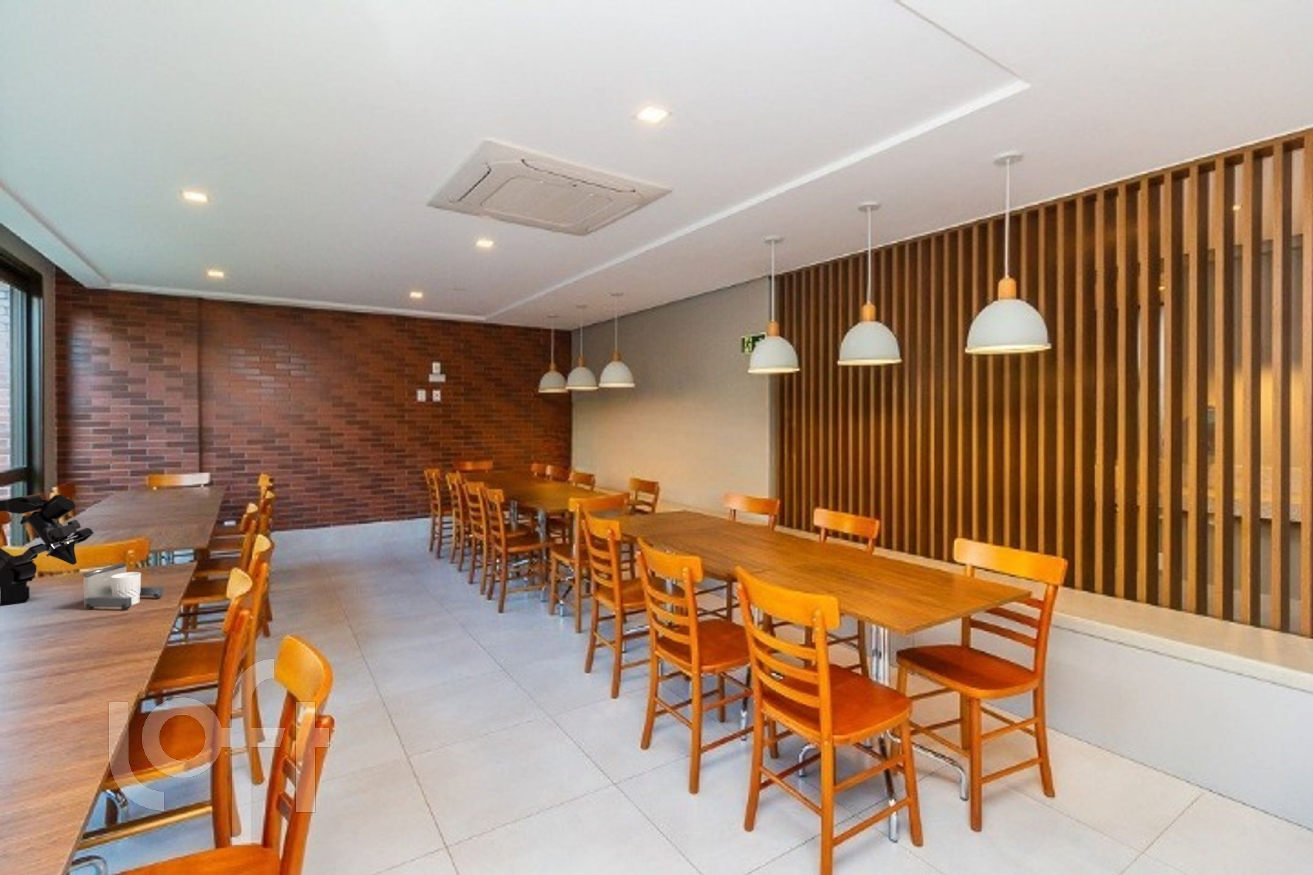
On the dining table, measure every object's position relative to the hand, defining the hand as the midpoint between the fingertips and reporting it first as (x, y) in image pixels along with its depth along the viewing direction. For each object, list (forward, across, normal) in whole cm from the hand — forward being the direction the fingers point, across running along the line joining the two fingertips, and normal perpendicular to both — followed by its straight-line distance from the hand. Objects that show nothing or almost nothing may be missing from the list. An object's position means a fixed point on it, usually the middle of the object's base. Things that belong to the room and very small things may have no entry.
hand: (74, 563), depth 214 cm
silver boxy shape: (+21, -2, -9) cm, 23 cm away
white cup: (+22, -1, -10) cm, 24 cm away
